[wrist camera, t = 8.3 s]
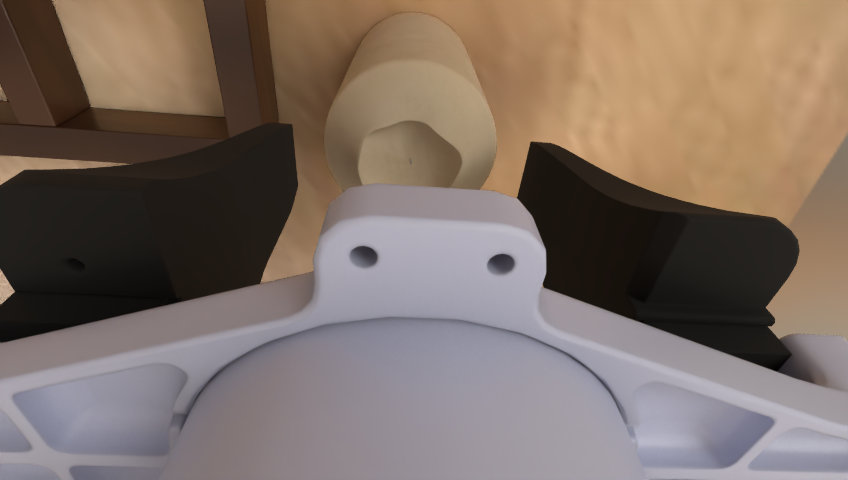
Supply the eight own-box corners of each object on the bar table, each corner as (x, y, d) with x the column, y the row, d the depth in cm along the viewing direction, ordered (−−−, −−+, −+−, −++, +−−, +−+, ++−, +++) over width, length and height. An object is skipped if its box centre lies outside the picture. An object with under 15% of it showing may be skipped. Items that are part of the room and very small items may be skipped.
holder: (282, 150, 23) (269, 173, 21) (-121, 122, 22) (-178, 143, 20) (252, -108, 17) (229, -112, 15) (-317, -168, 15) (-432, -183, 13)
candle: (463, -1, 19) (497, 57, 11) (475, 120, 22) (509, 233, 14) (340, 22, 19) (286, 94, 11) (369, 137, 23) (344, 257, 15)
